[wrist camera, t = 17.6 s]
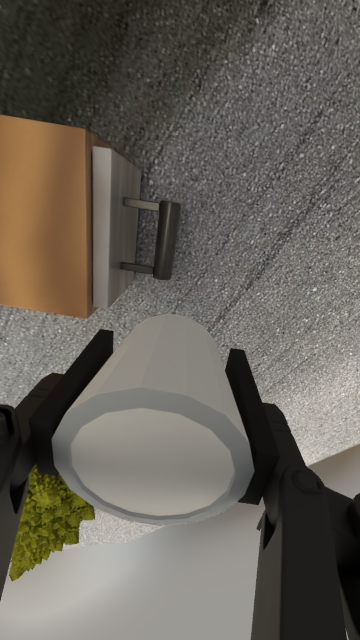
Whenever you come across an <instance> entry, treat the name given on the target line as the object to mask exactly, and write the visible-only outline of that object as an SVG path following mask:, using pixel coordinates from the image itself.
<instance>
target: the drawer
mask: <svg viewBox="0 0 360 640" xmlns="http://www.w3.org/2000/svg"><path fill="white" fill-rule="evenodd" d="M140 184H141V170H140V169H138V168H137V167H135V166H134V165H133V164H131V163H130V162H129V161H127V160H126V159H124V158H123V157H122V156H120V155H119V154H118V153H116V152H115V151H113V150H112V149H109V148H103V147H97V146H93V147H92V167H91V243H92V282H93V307H96V308H102V309H108V308H109V307H110V306H111V305H112V304H113V303H114V301H115V300H116V299H117V298H118V297H119V296H120V295H121V294H122V292H123V291H124V290H125V289H126V288H127V287H128V286H129V285H130V283H131V282H132V281H133V280H134V272H140V273H146V274H153V277H154V278H156V279H159V280H170V279H171V275H172V267H173V260H174V253H175V245H176V238H177V231H178V223H179V216H180V209H181V204H180V203H175V202H169V201H160V203H156V202H150V201H144V200H139V198H140ZM139 208H140V209H146V210H152V211H159V220H158V230H157V239H156V249H155V259H154V267H153V266H147V265H141V264H135V255H136V241H137V227H138V213H139Z"/></svg>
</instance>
